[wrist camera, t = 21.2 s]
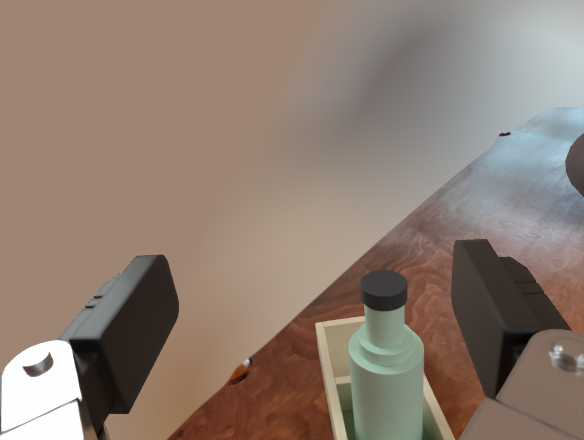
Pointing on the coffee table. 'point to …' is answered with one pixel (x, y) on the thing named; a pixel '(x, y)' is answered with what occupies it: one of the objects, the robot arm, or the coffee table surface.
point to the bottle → (386, 364)
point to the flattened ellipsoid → (576, 164)
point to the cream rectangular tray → (338, 383)
